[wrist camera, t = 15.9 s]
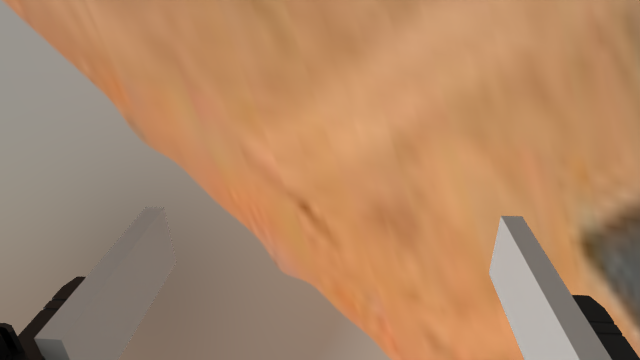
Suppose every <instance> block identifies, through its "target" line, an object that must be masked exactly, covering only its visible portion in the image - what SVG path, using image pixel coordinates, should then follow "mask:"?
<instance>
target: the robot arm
mask: <svg viewBox="0 0 640 360" xmlns="http://www.w3.org/2000/svg"><path fill="white" fill-rule="evenodd" d="M175 264H176V258H175V253H174V249H173V244H172V240H171V236H170V231H169V227H168V222H167V218H166V214H165V209H164V208H156V207H154V208H153V207H146V208H145V209H144V210H143V211H142V212H141V213H140V215H139V216H138V217H137V218H136V219H135V220H134V222H133V223H132V224H131V225H130V226H129V228H128V229H127V230H126V231H125V232H124V234H123V235H122V236H121V237H120V238H119V239H118V240H117V242H116V243H115V244H114V245H113V246H112V247H111V249H110V250H109V251H108V252H107V253H106V255H105V256H104V257H103V258H102V259H101V260H100V262H99V263H98V264H97V265H96V266H95V268H94V269H93V270H92V271H91V272H90V273H89V274H88V276H87V277H76V278H75V279H73V280H72V281H70V282H69V283H67V284H66V285H64V286H63V287H62V288H61V289H60V290H59V291H58V292H57V293H56V295H55V296H54V297H53V298H52V301H49V302H48V303H47V304H46V306H45V307H44V309H43V310H42V311H40V312H39V313H38V314H37V316H36V317H35V318H34V319H33V320H32V321H31V323H29V324H28V326H27V327H26V328H25V329H24V330H23V331H22V332H21V333H20V334H19V336H18V337H17V335H16V333H15V331H14V329H13V328H12V325H9V324H6V323H0V360H118V359H119V357H120V356H121V354H122V352H123V351H124V349H125V347H126V346H127V344H128V342H129V341H130V339H131V337H132V336H133V334H134V332H135V330H136V329H137V327H138V326H139V324H140V322H141V321H142V319H143V317H144V316H145V314H146V312H147V311H148V309H149V307H150V306H151V304H152V302H153V301H154V299H155V297H156V295H157V294H158V292H159V291H160V289H161V287H162V286H163V284H164V282H165V280H166V279H167V277H168V276H169V274H170V272H171V271H172V269H173V267H174V266H175ZM489 274H490V277H491V279H492V282H493V284H494V287H495V289H496V292H497V294H498V296H499V299H500V301H501V304H502V306H503V309H504V311H505V313H506V316H507V318H508V321H509V323H510V326H511V328H512V331H513V333H514V335H515V338H516V340H517V343H518V345H519V348H520V350H521V352H522V355H523V357H524V360H640V358H639V357H638V356H637V354H636V353H635V351H634V350H633V348H632V347H631V346H630V344H629V343H628V341H627V340H626V338H625V337H624V336H622V333H621V331H620V330H619V328H618V327H617V325H614V321H613V320H612V318H611V317H610V315H609V314H608V313H607V311H606V310H605V308H604V307H602V306H601V305H600V304H599V303H597V302H596V301H595V300H594V299H592V298H591V297H590V296H584V295H571V294H570V292H569V290H568V289H567V287H566V286H565V284H564V282H563V281H562V279H561V278H560V276H559V274H558V273H557V271H556V270H555V268H554V266H553V265H552V263H551V262H550V260H549V259H548V257H547V255H546V254H545V252H544V251H543V249H542V247H541V246H540V244H539V243H538V241H537V239H536V238H535V236H534V235H533V233H532V231H531V230H530V228H529V227H528V225H527V223H526V222H525V220H524V219H523V217H522V216H501V219H500V223H499V228H498V233H497V238H496V242H495V247H494V252H493V257H492V261H491V266H490V271H489Z"/></svg>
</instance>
